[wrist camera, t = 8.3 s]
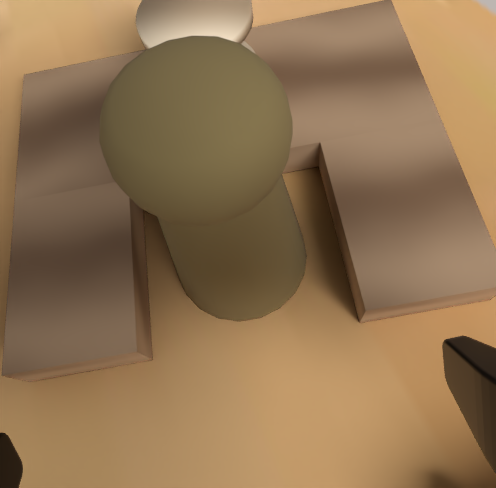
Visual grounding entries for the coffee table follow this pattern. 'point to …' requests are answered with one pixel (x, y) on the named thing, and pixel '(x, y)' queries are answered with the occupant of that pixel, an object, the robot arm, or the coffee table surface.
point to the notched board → (300, 157)
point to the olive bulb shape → (210, 169)
